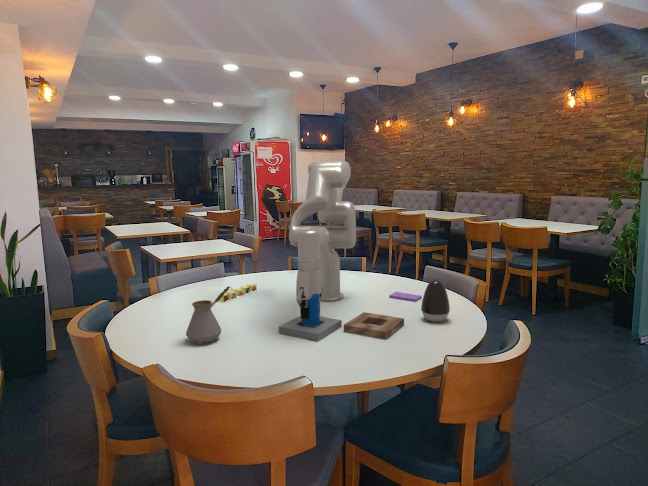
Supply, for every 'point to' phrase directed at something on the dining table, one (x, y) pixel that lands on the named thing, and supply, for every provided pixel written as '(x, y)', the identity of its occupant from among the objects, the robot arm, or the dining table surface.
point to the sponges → (405, 296)
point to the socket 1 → (316, 334)
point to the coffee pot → (204, 322)
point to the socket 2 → (363, 328)
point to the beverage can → (312, 311)
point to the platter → (238, 292)
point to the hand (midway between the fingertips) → (310, 314)
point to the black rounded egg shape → (435, 302)
